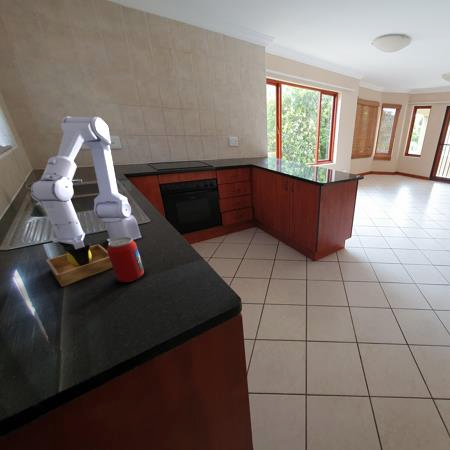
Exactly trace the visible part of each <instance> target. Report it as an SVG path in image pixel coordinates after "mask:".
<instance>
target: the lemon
mask: <svg viewBox="0 0 450 450" xmlns="http://www.w3.org/2000/svg"><path fill="white" fill-rule="evenodd" d="M66 254H67V260H68V262H69V263H70V264H71V265H72V266H75V267H80V265H79V264H78V263H77V262H76V260H75V259H74V257H73V256H72V255H71V254H69V253H68V252H66ZM91 260H92V255H91V252H90V251H89V263H90V262H91Z"/></svg>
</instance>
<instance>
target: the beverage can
mask: <svg viewBox="0 0 450 450" xmlns="http://www.w3.org/2000/svg"><path fill="white" fill-rule="evenodd" d="M106 250H107V252H108V255H109V258H110V261H111V264H112V266H113V268H112V269H113V272H114V274H115V277H116V279H117V281H118V282H122V283H131V282H134V281H136V280H138V279H140V277H142V276H143V275H144V274H145V269H144V266H143V263H142V258H141V256H140V252H139V249H138V246H137V243H136V242H135V240H132V239H131V238H129V237H123V238H118V239H114V240H112V241H110V242H108V243H107V248H106Z"/></svg>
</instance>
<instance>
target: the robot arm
mask: <svg viewBox="0 0 450 450" xmlns="http://www.w3.org/2000/svg"><path fill="white" fill-rule="evenodd" d="M60 128H61V131H62V132H63V135H62V137H61V138H62V139H61V142H60V145H59V149H58V152H57V155H56V156H51V157H50V158H48V160H47V164H46V167H45V169H44V171H43V173H42V176H41V178H40V180H37V181H35V182H34V183H33V184H32V185H31V188H30V190H31V191H30V196H31V198H32V199H34V200H35V201H36V202H38V203H39V205H40V207H41V208H42V209H44V211H45V213H46V215H47V217H48V220H49V222H50V224H51V227H52V229H53V232H54V233H55V236H56V237H54V238H51V240H52V242H53V243H57V244H59V245H61V246H62V247H63V250H64V251H65V252H66V253H67V252H68V253H69V254H71V255H72V256H73V257H74V259H75V260H76V262H77V263H78V264H79V265H80V266H83V265H86V264H89V248H90V247H91V243H90V241H87V242H84V239H85V236H86V233H85V231H83V228H82V225H81V223H80V220H79V218H78V215H77V213H76V210H75V207H74V205H73V203H72V200H71V199H72V198H73V196H74V194H75V193H74V188H73V185H74V184H73V182H72V181H73V178H74V176H75V173H76V170H77V168H78V166H77V164H76V163H75V159H76V157H77V155H78V153H79V151H80V149H81V148H82V145H86V146H87V147H88V148H89V149H90V151H91V156H92V161H93V166H94V172H95V177H96V183H97V187H98V191H99V194H98V195H97V196H96V197H94V199H93V204H94V205H93V213H94V215H95V217H96V218H97V219H100V220H101V222H103V223H104V226H105V228H106V231H107V234H108V237H109V238H107V239H106V241H107V242H108V243H109V242H110V241H112V240H114V239H118V238H123V237H129V238H131V239H132V240H133V241H135V240H138V239H141V238H142V235H141V232H140V228H139V225H138V222H137V219H136V217H135V216H134V215H132V214H131V213H132V208H131V205H130V204H129V201H128V197H126V196H124V195H123V194H121V193H119V190H118V185H117V179H116V174H115V168H114V164H113V163H114V161H113V156H112V151H111V146H110V145H111V143H112V141H111V136H110V131H109V125H107V123H106V122H105V121H104V120H103V119H102V118H100V117H99V116H65V117H63V118H62V122H61V124H60Z"/></svg>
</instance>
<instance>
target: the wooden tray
mask: <svg viewBox="0 0 450 450" xmlns="http://www.w3.org/2000/svg"><path fill="white" fill-rule="evenodd" d="M89 251H90V252H91V255H92V260H91V262H90V263H89V264H86V265H83V266H80V267H75V266H72V265H71V264H70V263H69V262H68V260H67V253H65V254H61V255H58V256H54V257H52V258H47V259H45V261H46V264H47V265H48V267H49V270H50V271H51V273H52V275H53V276H54V277H55V279H56V281H57V282H58V283H59V284H60V286H61V287H65V286H67V285H70V284H73V283H76V282H79V281H80V280H81V281H82V280H83V279H86V278H89V277H91V276H94V275H96V274H99V273H102V272H105V271H108V270H110V269H113V266H112V264H111V261H110V258H109V255H108V252H107V249H106V248H105V247H103V246H102V245H101V244H99V243H98V244H95V245H90V248H89Z"/></svg>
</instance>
